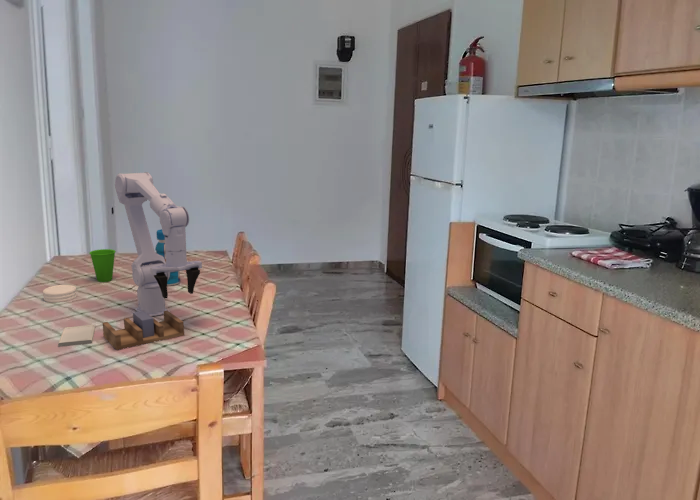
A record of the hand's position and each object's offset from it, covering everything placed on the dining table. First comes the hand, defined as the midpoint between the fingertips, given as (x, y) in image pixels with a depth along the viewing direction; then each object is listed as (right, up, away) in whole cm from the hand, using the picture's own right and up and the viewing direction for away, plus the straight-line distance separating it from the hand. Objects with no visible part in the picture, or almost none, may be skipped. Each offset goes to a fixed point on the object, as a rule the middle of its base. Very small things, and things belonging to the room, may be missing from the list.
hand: (178, 295), depth 162 cm
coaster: (-47, -3, +25) cm, 54 cm away
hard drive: (-25, -12, -8) cm, 29 cm away
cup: (-42, +2, +47) cm, 63 cm away
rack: (-8, -11, -6) cm, 15 cm away
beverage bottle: (-17, +1, +45) cm, 48 cm away
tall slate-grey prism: (-8, -10, -6) cm, 14 cm away
